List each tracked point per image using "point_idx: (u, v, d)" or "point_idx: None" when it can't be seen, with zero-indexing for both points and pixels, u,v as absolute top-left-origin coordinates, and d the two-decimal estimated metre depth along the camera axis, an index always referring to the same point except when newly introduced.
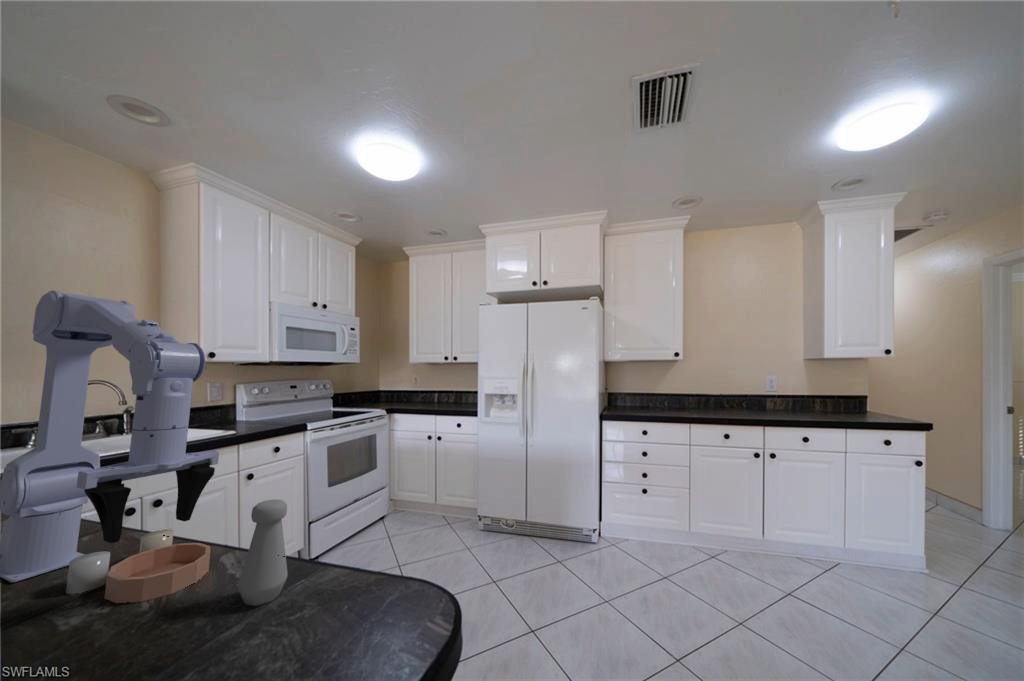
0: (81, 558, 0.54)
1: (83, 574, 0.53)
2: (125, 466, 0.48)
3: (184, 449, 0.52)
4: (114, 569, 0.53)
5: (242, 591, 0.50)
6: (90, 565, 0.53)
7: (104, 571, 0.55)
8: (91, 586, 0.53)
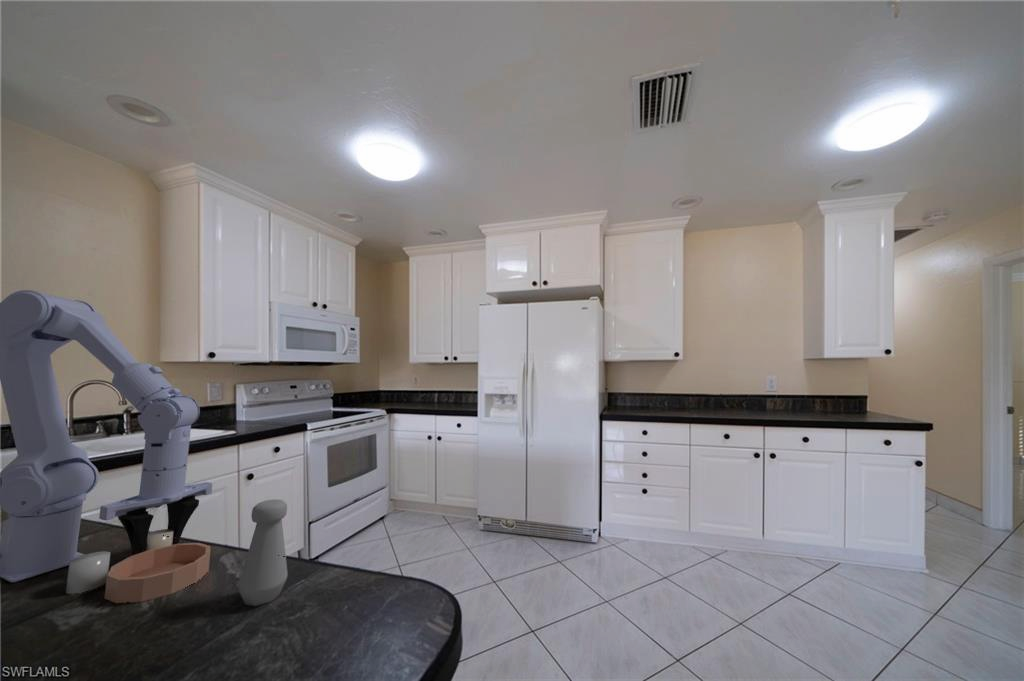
0: (81, 558, 0.54)
1: (83, 574, 0.53)
2: (136, 500, 0.60)
3: (183, 484, 0.65)
4: (114, 569, 0.53)
5: (242, 591, 0.50)
6: (90, 565, 0.53)
7: (104, 571, 0.55)
8: (91, 586, 0.53)
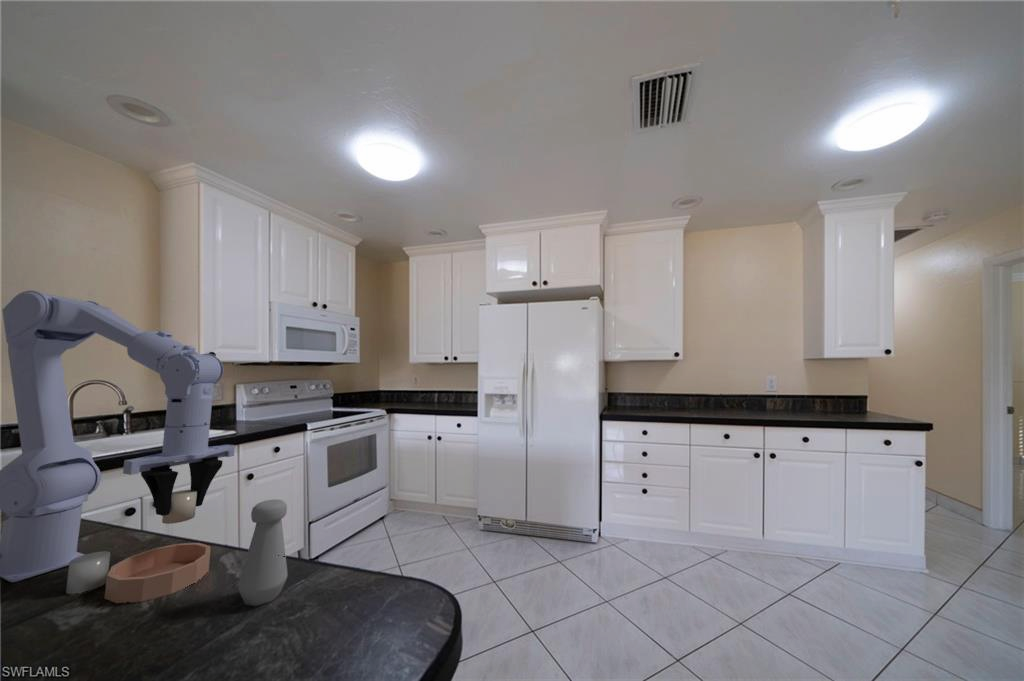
0: (81, 558, 0.54)
1: (83, 574, 0.53)
2: (160, 456, 0.58)
3: (207, 443, 0.63)
4: (114, 569, 0.53)
5: (242, 592, 0.50)
6: (90, 565, 0.53)
7: (104, 571, 0.55)
8: (91, 586, 0.53)
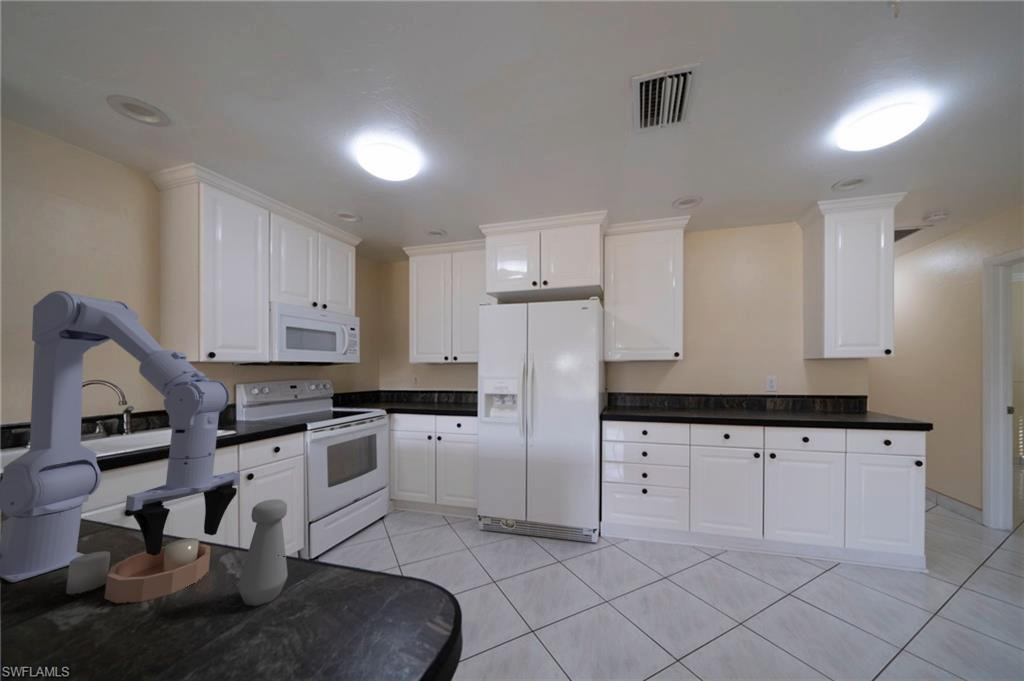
0: (81, 558, 0.54)
1: (83, 574, 0.53)
2: (164, 490, 0.57)
3: (212, 473, 0.61)
4: (114, 569, 0.53)
5: (242, 591, 0.50)
6: (90, 565, 0.53)
7: (104, 571, 0.55)
8: (91, 586, 0.53)
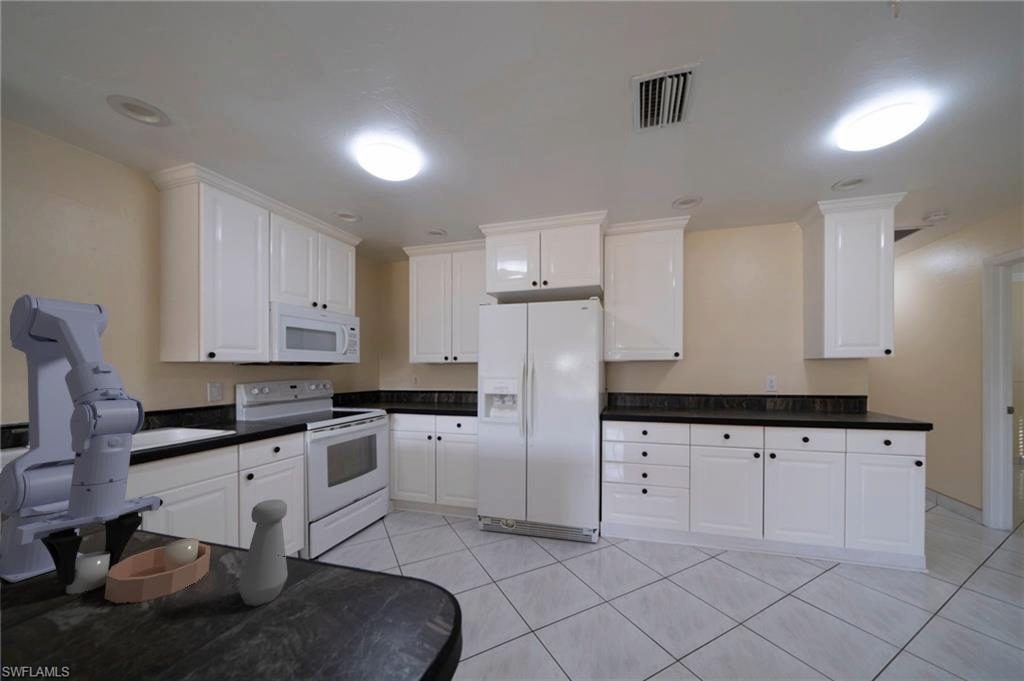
0: (81, 558, 0.54)
1: (83, 574, 0.53)
2: (63, 519, 0.52)
3: (122, 499, 0.56)
4: (114, 569, 0.53)
5: (242, 591, 0.50)
6: (90, 565, 0.53)
7: (104, 571, 0.55)
8: (91, 586, 0.53)
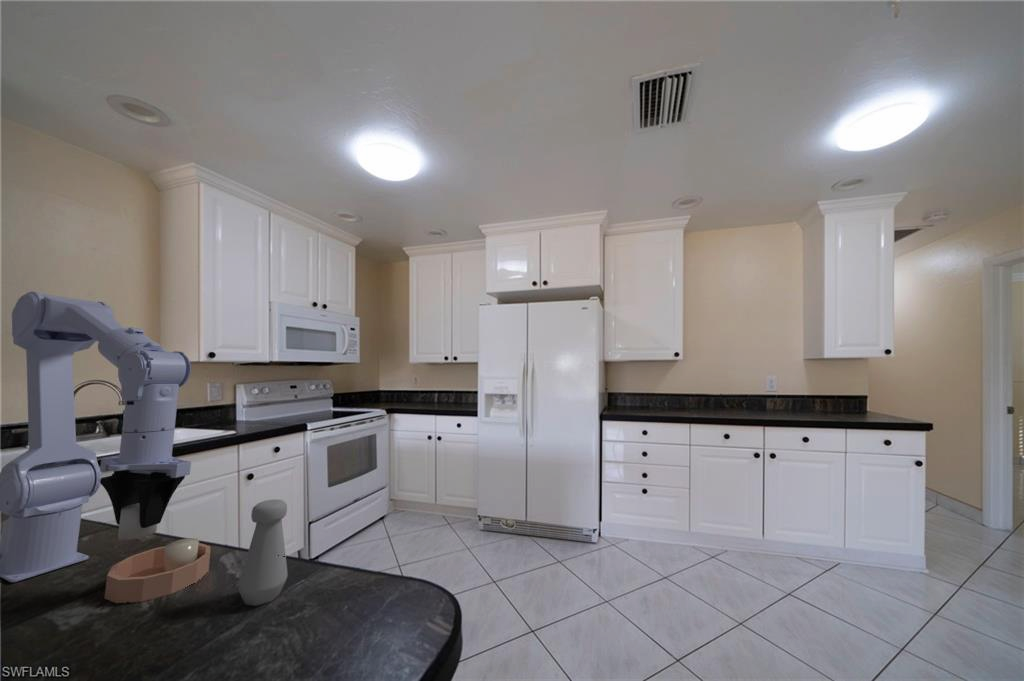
0: None
1: (120, 519, 0.53)
2: None
3: (141, 454, 0.53)
4: (114, 569, 0.53)
5: (242, 591, 0.50)
6: (121, 513, 0.53)
7: (131, 525, 0.53)
8: (120, 535, 0.53)
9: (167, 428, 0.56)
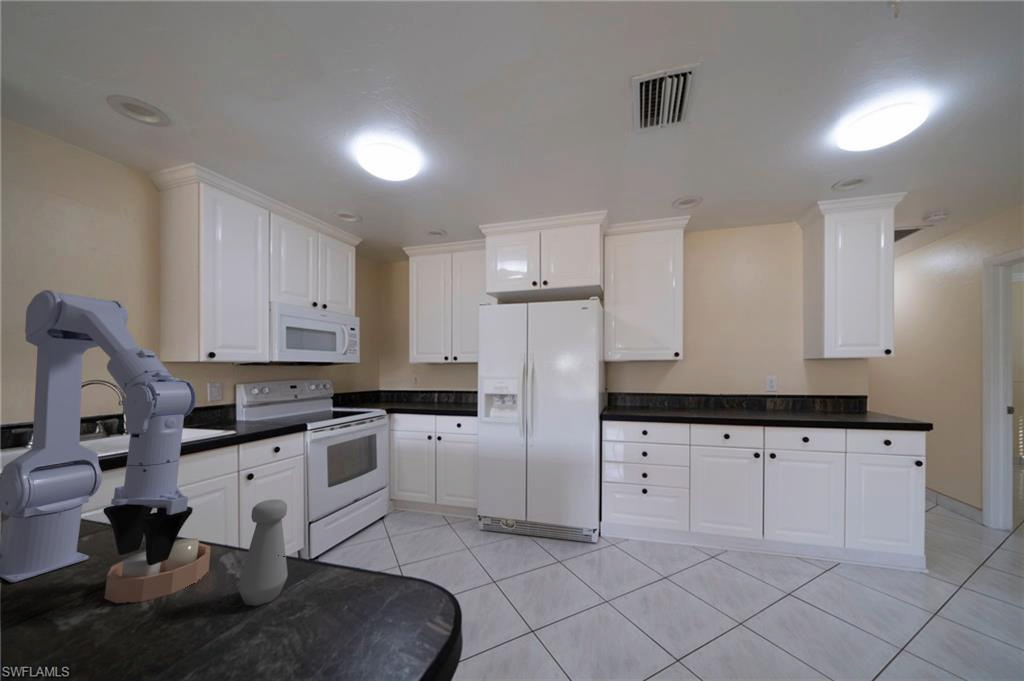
0: None
1: None
2: None
3: (141, 488, 0.53)
4: (114, 569, 0.53)
5: (242, 591, 0.50)
6: (123, 565, 0.53)
7: None
8: None
9: (172, 460, 0.55)
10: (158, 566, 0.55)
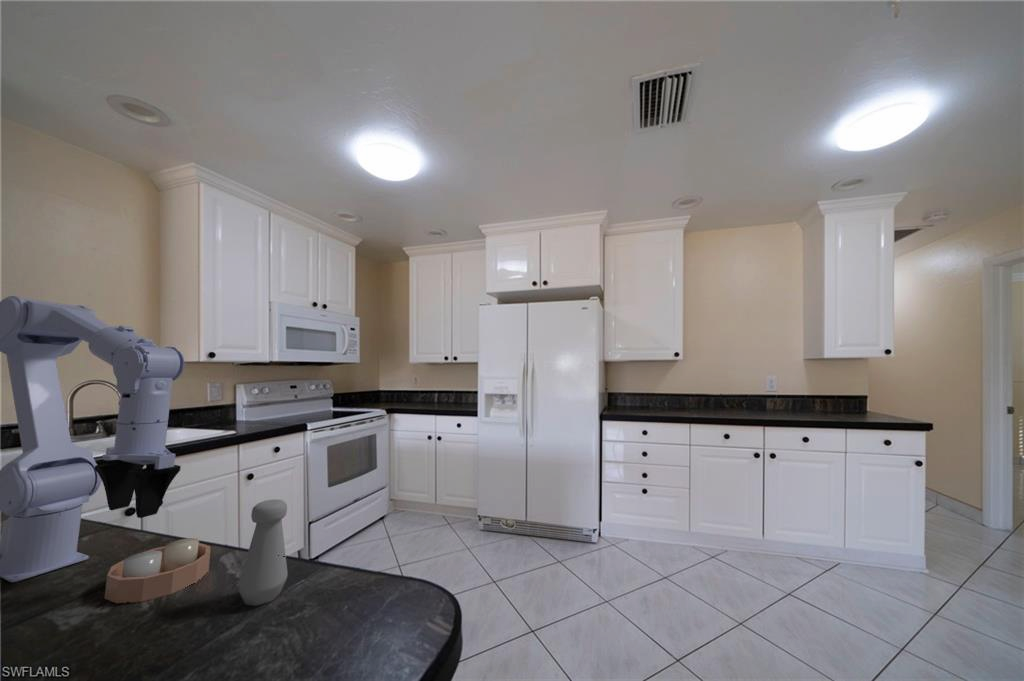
0: (147, 553, 0.55)
1: None
2: None
3: (131, 445, 0.55)
4: (114, 569, 0.53)
5: (242, 591, 0.50)
6: (123, 565, 0.53)
7: None
8: None
9: (162, 420, 0.58)
10: (158, 566, 0.55)
